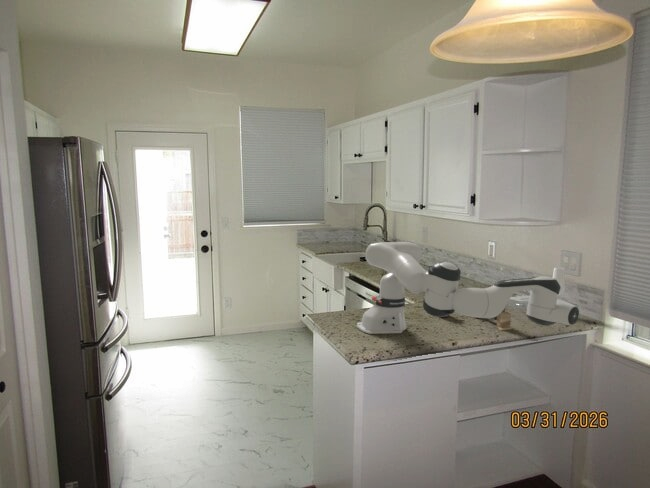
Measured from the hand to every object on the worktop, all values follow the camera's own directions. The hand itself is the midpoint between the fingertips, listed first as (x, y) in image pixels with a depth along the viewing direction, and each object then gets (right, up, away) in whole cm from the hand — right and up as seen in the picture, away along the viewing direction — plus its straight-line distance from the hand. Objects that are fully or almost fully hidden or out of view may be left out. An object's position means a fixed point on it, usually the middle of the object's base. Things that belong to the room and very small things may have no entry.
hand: (518, 296), depth 196 cm
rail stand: (-6, -14, +18) cm, 24 cm away
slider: (-4, -12, +13) cm, 18 cm away
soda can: (-26, -13, +27) cm, 40 cm away
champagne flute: (+35, -13, +35) cm, 51 cm away
